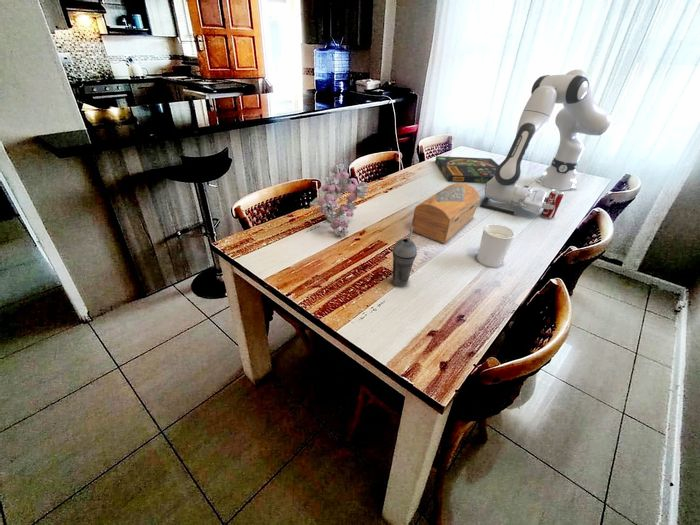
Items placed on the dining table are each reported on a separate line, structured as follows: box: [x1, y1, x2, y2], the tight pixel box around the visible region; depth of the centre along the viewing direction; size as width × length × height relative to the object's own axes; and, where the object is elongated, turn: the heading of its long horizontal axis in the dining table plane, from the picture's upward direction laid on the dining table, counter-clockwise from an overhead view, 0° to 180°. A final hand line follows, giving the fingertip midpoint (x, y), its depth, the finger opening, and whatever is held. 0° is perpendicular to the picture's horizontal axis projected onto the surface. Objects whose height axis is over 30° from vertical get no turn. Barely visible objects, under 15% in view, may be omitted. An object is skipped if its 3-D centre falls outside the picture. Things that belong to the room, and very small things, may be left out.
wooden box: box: [411, 182, 481, 244], centre depth 133 cm, size 30×16×14 cm, turn 140°
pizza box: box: [434, 155, 500, 184], centre depth 193 cm, size 35×35×4 cm
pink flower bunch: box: [309, 162, 372, 239], centre depth 126 cm, size 20×22×25 cm
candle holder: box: [476, 223, 516, 268], centre depth 112 cm, size 10×10×12 cm
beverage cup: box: [392, 225, 418, 288], centre depth 97 cm, size 7×7×20 cm
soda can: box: [540, 189, 564, 220], centre depth 144 cm, size 5×5×12 cm
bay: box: [479, 196, 516, 216], centre depth 155 cm, size 16×15×1 cm
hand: (554, 204), depth 143 cm, fingers closed on soda can, 5 cm apart
